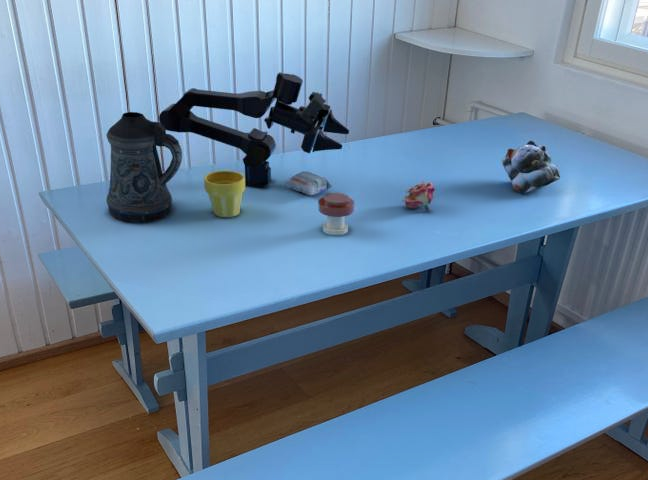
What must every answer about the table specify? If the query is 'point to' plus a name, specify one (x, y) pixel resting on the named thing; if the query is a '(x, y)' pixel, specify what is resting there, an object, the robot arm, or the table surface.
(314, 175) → the packaged food
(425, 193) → the flower
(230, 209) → the flower pot
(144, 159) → the beer stein
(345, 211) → the mushroom
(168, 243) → the table surface
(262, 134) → the robot arm
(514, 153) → the lucky cat figurine
